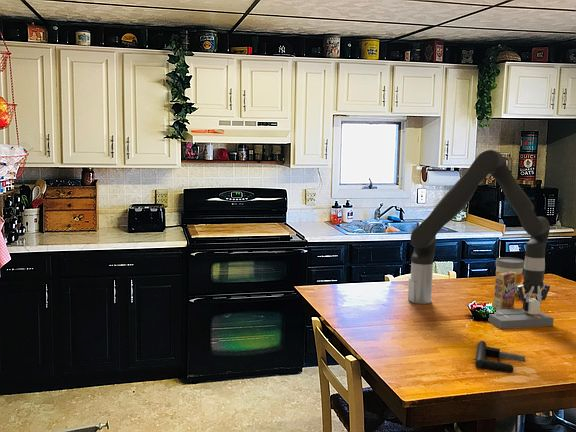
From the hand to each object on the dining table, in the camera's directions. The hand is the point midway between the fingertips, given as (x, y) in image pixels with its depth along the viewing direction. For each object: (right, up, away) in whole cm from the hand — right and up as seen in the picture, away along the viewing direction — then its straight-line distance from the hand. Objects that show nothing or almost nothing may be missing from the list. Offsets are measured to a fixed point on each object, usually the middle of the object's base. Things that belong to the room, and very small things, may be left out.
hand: (531, 310), depth 237 cm
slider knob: (0, -1, 0) cm, 1 cm away
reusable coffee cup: (+8, +2, +46) cm, 46 cm away
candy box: (-4, -2, +18) cm, 19 cm away
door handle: (-27, -10, -41) cm, 51 cm away
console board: (-6, -4, -1) cm, 7 cm away
